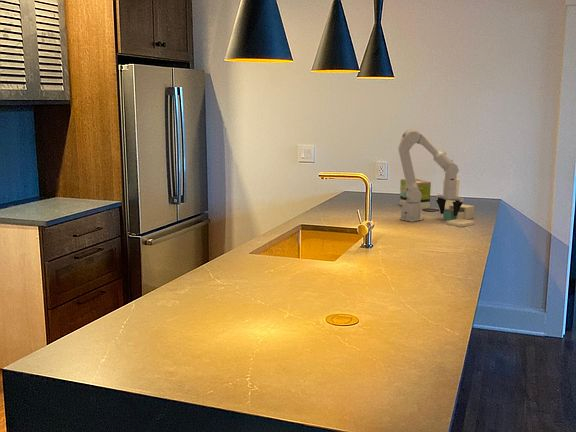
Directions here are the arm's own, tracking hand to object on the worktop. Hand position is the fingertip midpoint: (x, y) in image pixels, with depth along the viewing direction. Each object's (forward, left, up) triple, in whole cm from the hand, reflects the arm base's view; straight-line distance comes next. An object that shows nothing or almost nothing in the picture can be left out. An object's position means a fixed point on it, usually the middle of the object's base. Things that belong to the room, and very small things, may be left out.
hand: (448, 214), depth 322 cm
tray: (-5, -10, -3) cm, 11 cm away
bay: (+8, 0, -3) cm, 9 cm away
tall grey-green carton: (+1, 0, -3) cm, 3 cm away
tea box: (+18, +34, -3) cm, 39 cm away
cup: (+31, +20, -3) cm, 37 cm away
